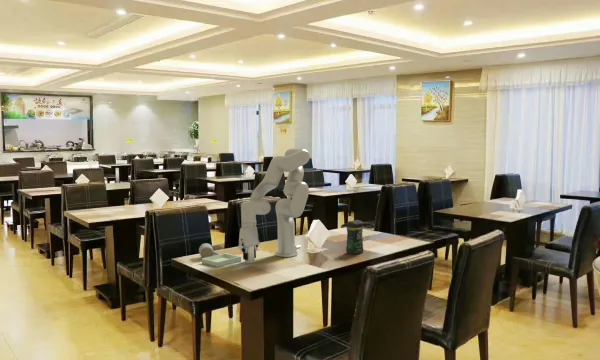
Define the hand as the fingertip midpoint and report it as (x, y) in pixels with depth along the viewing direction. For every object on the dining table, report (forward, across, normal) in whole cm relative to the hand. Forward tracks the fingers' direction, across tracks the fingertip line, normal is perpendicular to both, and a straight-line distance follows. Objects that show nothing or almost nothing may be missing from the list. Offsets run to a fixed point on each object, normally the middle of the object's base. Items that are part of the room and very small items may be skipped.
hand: (249, 258), depth 258 cm
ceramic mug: (+2, +8, -24) cm, 26 cm away
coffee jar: (+2, -52, +31) cm, 61 cm away
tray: (+2, +10, -11) cm, 15 cm away
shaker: (+2, 0, 0) cm, 2 cm away
